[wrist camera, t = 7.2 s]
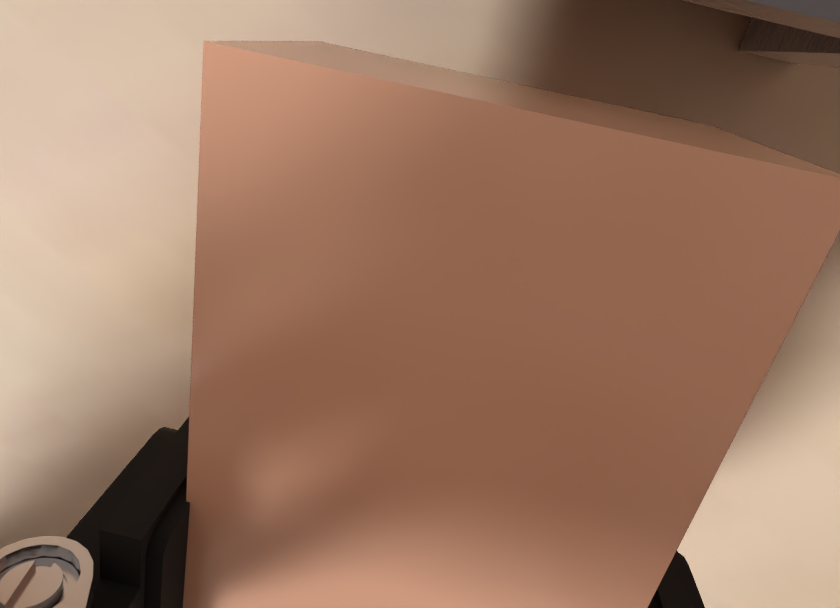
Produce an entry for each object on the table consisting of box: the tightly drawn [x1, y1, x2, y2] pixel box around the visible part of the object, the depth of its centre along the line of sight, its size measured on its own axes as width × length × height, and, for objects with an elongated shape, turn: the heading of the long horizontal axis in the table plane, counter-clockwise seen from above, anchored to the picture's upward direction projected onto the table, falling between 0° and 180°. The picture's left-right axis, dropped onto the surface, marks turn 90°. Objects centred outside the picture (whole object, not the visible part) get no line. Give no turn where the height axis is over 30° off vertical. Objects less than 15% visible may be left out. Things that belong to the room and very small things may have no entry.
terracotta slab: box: [183, 41, 840, 608], centre depth 10 cm, size 6×14×4 cm, turn 169°
